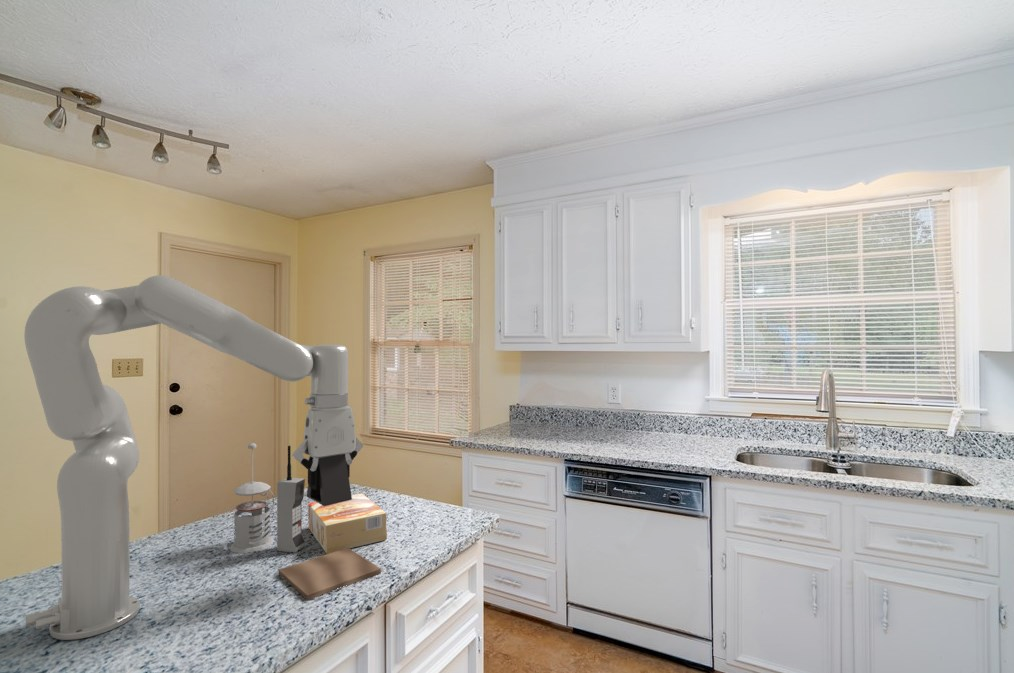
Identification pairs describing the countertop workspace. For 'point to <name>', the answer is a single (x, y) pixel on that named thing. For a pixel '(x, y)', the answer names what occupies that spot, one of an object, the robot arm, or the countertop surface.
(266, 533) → the french press
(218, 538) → the countertop surface
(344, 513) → the coffeecake box
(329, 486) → the phone stand
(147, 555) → the countertop surface
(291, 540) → the vintage mobile phone
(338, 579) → the walnut board
